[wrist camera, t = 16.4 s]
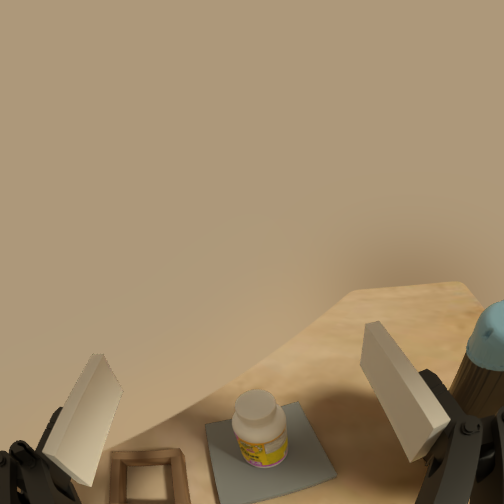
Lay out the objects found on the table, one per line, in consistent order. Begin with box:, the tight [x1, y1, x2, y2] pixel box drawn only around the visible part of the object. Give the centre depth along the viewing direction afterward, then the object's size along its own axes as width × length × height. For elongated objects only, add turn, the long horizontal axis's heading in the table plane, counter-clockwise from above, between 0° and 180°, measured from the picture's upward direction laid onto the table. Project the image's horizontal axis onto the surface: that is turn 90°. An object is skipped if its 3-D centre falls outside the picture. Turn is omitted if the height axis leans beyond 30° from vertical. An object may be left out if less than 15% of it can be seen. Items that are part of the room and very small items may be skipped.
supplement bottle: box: [232, 389, 288, 468], centre depth 30 cm, size 7×7×13 cm
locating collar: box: [109, 448, 191, 504], centre depth 26 cm, size 12×12×2 cm
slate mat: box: [205, 402, 337, 504], centre depth 32 cm, size 16×16×1 cm
